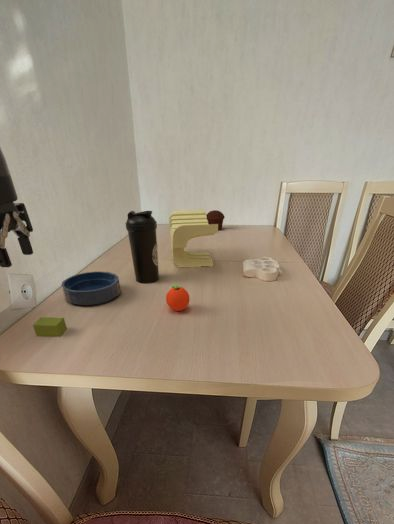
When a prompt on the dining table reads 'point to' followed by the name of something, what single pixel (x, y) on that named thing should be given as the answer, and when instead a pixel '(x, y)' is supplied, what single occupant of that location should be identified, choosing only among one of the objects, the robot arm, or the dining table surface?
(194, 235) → the slatted curved stool
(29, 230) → the robot arm
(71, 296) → the bowl
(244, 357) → the dining table surface
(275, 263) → the white lobed compartment tray
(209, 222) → the muffin
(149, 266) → the water bottle
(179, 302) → the clementine
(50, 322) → the sponge
